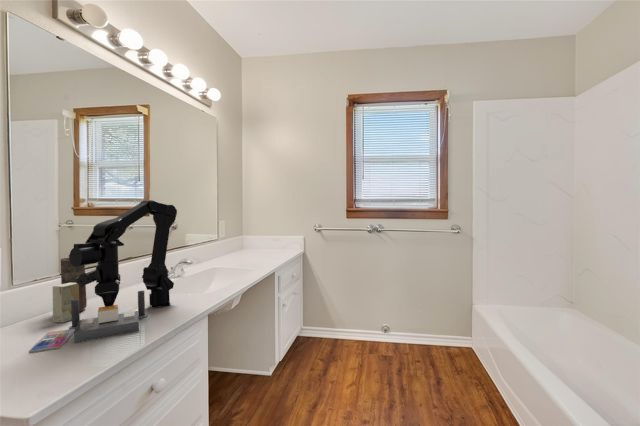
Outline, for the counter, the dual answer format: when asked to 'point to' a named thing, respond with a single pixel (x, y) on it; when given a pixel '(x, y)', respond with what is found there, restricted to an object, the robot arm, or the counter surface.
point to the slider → (108, 313)
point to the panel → (106, 327)
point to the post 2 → (141, 305)
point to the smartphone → (52, 341)
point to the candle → (73, 279)
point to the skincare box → (64, 301)
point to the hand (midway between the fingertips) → (109, 308)
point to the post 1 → (75, 313)
